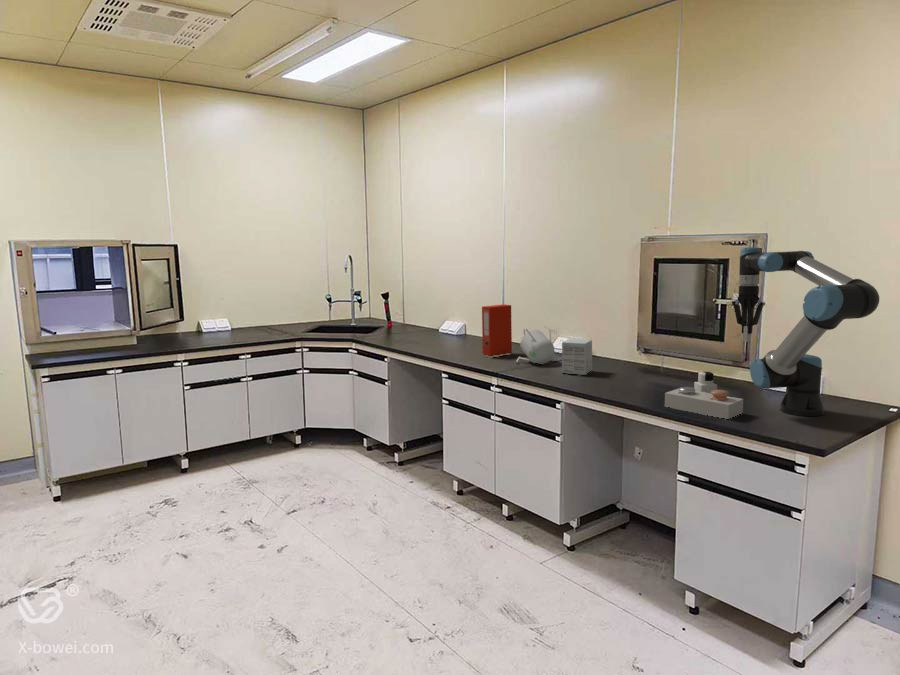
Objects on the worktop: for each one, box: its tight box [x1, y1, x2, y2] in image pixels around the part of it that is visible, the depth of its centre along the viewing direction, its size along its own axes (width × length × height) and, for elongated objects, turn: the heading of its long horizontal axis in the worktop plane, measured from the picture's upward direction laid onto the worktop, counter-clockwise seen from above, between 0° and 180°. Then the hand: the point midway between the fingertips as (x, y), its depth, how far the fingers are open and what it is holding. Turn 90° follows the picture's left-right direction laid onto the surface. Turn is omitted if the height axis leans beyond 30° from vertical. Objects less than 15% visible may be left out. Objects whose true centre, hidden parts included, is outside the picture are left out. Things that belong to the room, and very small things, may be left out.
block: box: [664, 388, 744, 420], centre depth 243 cm, size 27×12×6 cm, turn 39°
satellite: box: [515, 325, 558, 364], centre depth 348 cm, size 23×20×25 cm
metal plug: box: [678, 386, 695, 395], centre depth 248 cm, size 6×6×8 cm
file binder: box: [481, 304, 513, 356], centre depth 374 cm, size 8×17×32 cm, turn 124°
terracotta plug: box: [711, 389, 730, 402], centre depth 237 cm, size 6×6×8 cm
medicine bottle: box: [693, 371, 718, 393], centre depth 259 cm, size 7×7×12 cm
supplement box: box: [561, 338, 593, 375], centre depth 320 cm, size 13×13×18 cm
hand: (746, 341), depth 249 cm, fingers closed
